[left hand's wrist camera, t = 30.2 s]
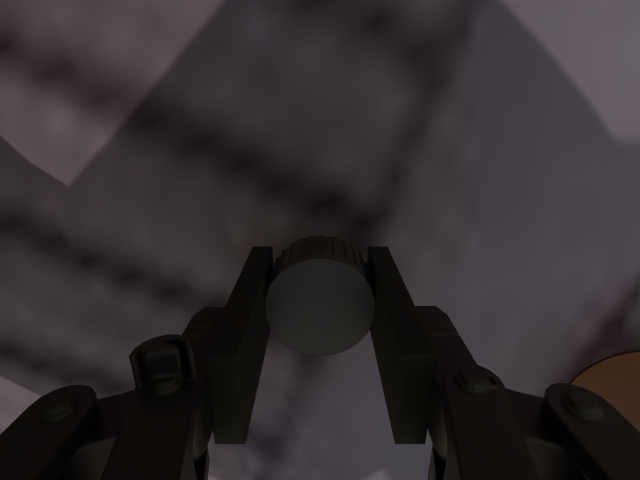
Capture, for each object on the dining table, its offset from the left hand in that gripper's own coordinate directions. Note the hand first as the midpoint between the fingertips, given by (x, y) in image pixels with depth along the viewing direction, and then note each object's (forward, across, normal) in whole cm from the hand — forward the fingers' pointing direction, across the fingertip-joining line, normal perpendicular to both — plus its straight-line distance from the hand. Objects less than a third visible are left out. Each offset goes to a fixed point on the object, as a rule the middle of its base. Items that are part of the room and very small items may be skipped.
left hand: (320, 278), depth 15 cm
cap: (-2, 0, 0) cm, 2 cm away
